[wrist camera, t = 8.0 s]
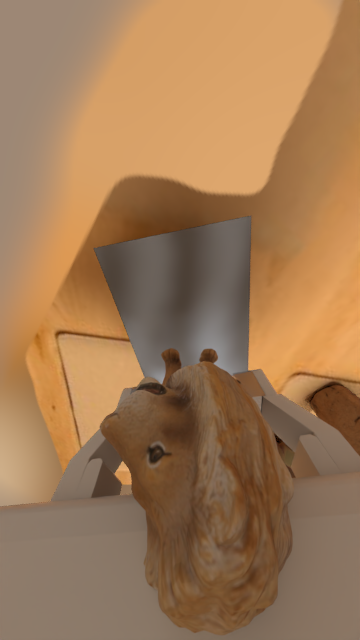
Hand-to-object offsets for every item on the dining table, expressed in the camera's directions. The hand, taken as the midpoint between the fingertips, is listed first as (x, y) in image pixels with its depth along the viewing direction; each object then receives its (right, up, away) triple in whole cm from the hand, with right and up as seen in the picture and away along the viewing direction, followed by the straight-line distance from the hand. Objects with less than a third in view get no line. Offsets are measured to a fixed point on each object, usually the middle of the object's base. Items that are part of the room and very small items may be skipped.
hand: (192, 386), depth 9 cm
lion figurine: (-1, -1, +3) cm, 4 cm away
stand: (0, +7, +13) cm, 15 cm away
